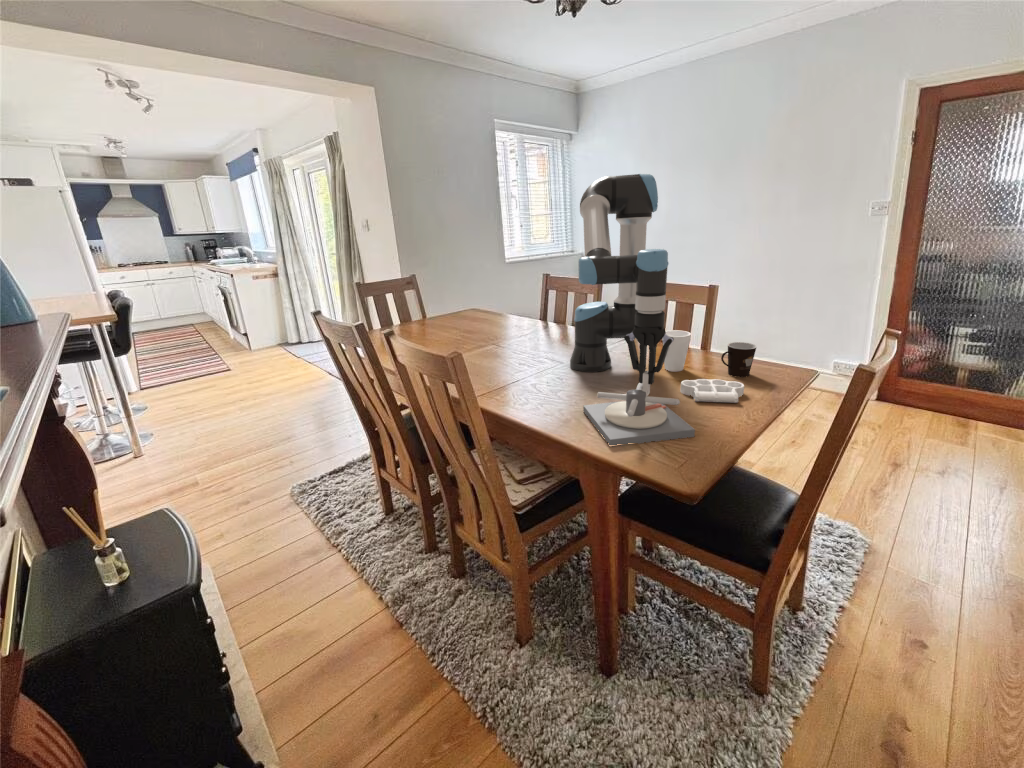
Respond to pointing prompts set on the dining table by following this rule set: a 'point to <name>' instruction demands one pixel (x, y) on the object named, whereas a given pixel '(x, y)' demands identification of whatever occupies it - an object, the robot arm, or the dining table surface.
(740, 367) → the coffee mug
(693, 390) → the white brass knuckles
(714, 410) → the dining table surface
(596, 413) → the dial board
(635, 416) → the capstan
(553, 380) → the dining table surface
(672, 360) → the foam cup
